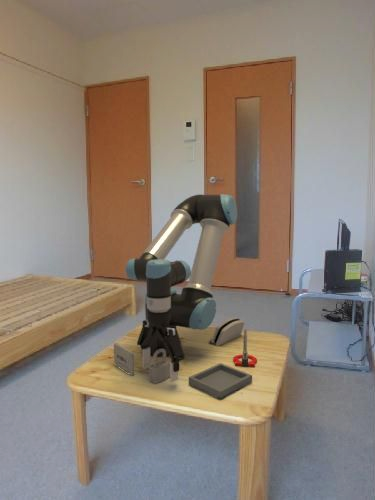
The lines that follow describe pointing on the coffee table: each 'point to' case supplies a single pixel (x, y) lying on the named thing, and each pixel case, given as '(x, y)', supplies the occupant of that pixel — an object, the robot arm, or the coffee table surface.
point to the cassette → (124, 358)
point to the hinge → (227, 331)
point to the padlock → (159, 368)
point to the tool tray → (220, 380)
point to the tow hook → (245, 356)
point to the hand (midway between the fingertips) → (160, 373)
